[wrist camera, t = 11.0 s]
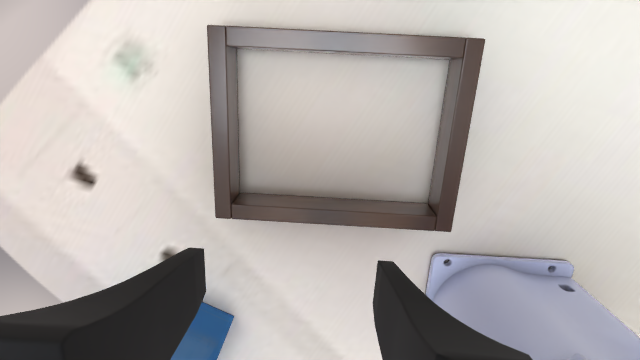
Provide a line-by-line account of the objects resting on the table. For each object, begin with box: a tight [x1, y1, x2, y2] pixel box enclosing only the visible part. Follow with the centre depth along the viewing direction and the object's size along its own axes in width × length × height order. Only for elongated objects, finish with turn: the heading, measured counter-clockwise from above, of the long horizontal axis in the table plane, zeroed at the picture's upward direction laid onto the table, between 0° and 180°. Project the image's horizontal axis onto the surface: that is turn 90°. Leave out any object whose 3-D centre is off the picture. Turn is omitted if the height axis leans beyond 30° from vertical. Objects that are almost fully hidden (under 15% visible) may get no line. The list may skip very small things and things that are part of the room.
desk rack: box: [207, 25, 485, 232], centre depth 21 cm, size 14×11×2 cm
